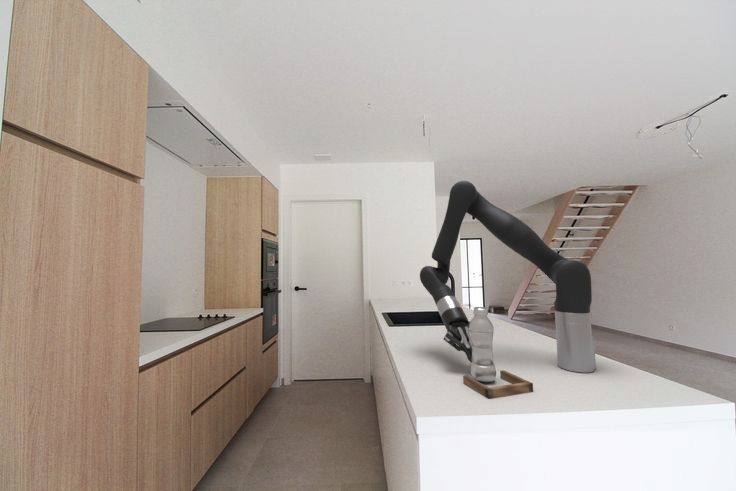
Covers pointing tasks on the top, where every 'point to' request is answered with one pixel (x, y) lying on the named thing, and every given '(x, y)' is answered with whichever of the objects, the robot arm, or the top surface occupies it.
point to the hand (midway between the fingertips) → (475, 362)
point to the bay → (499, 391)
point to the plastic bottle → (482, 346)
